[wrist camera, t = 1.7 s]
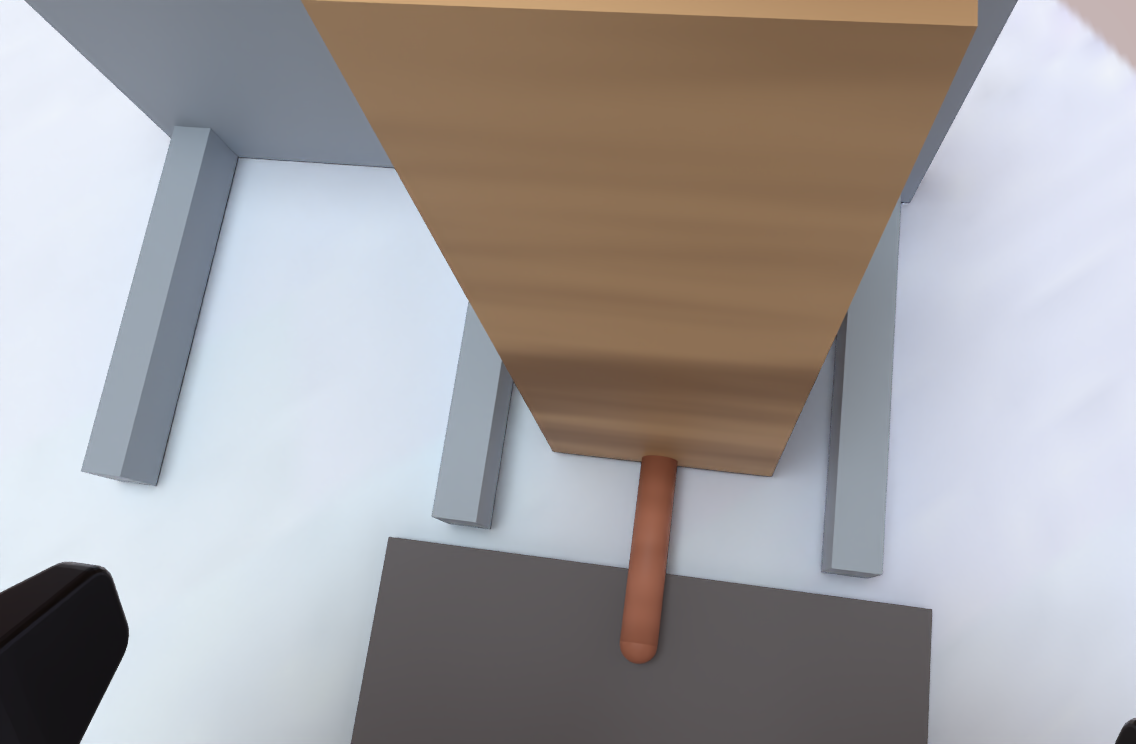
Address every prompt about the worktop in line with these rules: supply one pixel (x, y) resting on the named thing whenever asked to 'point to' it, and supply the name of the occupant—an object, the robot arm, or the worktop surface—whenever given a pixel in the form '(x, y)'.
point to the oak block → (654, 204)
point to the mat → (614, 684)
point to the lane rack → (344, 136)
